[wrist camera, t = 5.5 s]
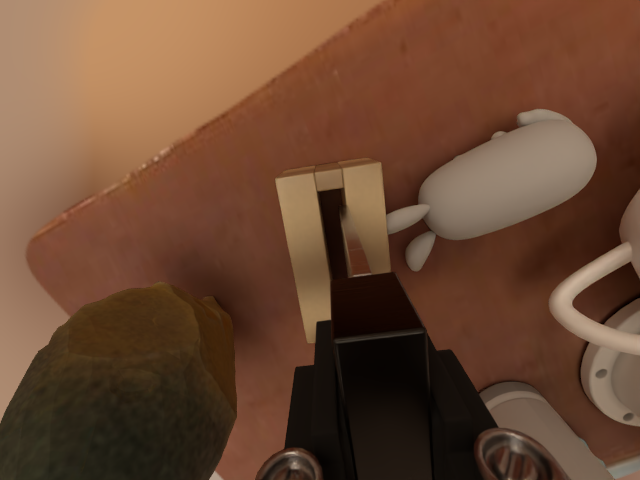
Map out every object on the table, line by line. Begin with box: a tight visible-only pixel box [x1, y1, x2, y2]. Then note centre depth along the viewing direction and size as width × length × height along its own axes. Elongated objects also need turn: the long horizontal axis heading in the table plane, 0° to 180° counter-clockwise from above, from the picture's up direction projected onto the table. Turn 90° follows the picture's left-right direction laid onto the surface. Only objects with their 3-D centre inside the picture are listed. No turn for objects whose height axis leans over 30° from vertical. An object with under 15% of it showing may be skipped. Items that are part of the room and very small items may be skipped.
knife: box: [330, 205, 435, 480], centre depth 11 cm, size 7×2×11 cm, turn 9°
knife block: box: [275, 157, 391, 344], centre depth 19 cm, size 10×5×4 cm, turn 9°
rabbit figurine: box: [386, 109, 597, 271], centre depth 18 cm, size 6×5×12 cm
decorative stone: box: [0, 281, 237, 480], centre depth 15 cm, size 10×6×15 cm, turn 32°
